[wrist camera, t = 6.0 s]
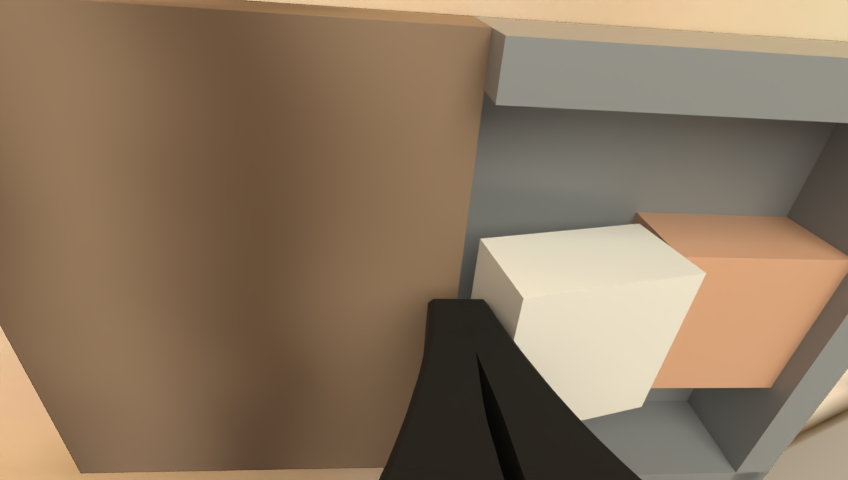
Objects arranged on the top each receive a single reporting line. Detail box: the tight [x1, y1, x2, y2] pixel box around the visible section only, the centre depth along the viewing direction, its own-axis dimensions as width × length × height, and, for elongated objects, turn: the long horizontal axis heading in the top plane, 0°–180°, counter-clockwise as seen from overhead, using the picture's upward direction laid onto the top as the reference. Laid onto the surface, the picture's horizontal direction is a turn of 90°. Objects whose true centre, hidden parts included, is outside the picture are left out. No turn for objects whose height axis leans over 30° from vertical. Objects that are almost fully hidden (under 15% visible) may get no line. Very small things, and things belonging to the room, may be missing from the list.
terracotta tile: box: [633, 212, 848, 388], centre depth 12 cm, size 4×4×2 cm
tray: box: [457, 16, 848, 480], centre depth 11 cm, size 10×12×3 cm
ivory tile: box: [471, 224, 706, 420], centre depth 10 cm, size 4×4×2 cm
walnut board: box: [0, 0, 492, 473], centre depth 11 cm, size 10×12×2 cm
